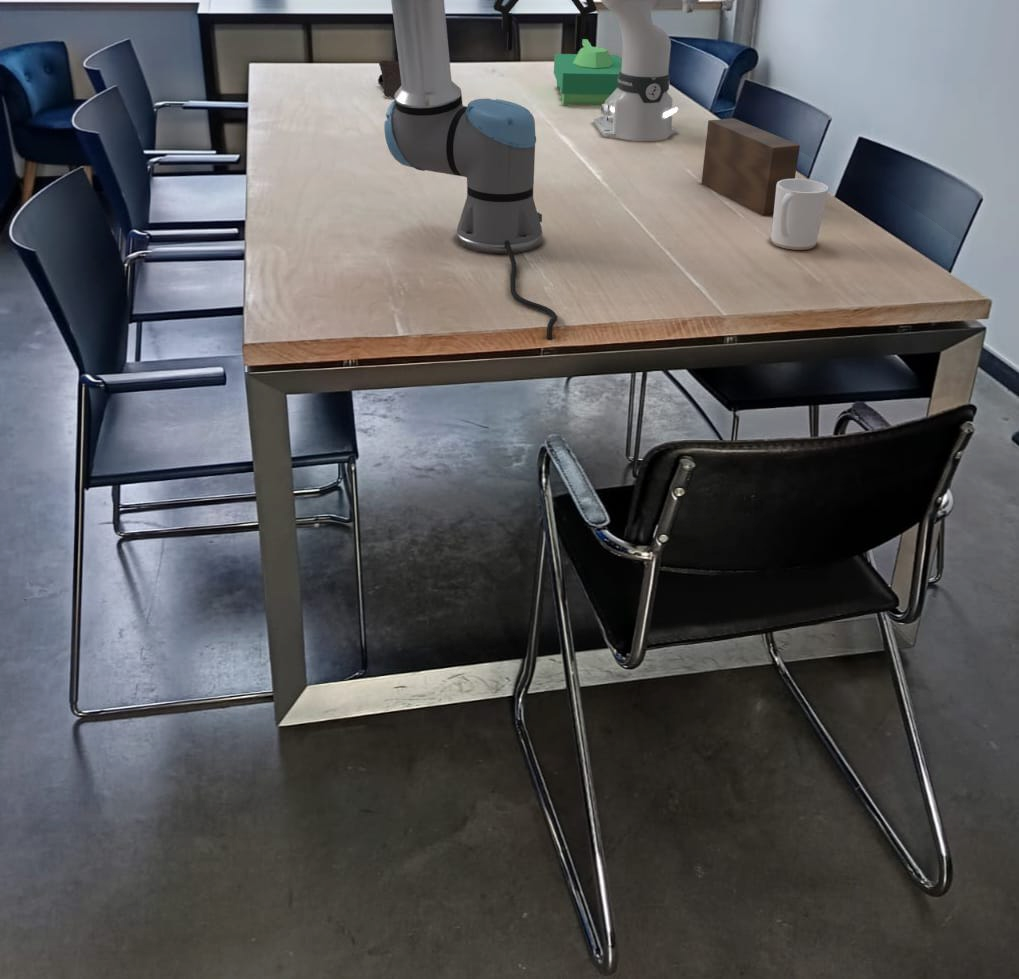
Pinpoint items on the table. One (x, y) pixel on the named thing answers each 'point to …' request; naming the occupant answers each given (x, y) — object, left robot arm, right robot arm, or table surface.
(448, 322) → the table surface
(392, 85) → the axe head
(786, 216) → the mug
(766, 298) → the table surface
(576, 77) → the toy tank
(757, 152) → the box
